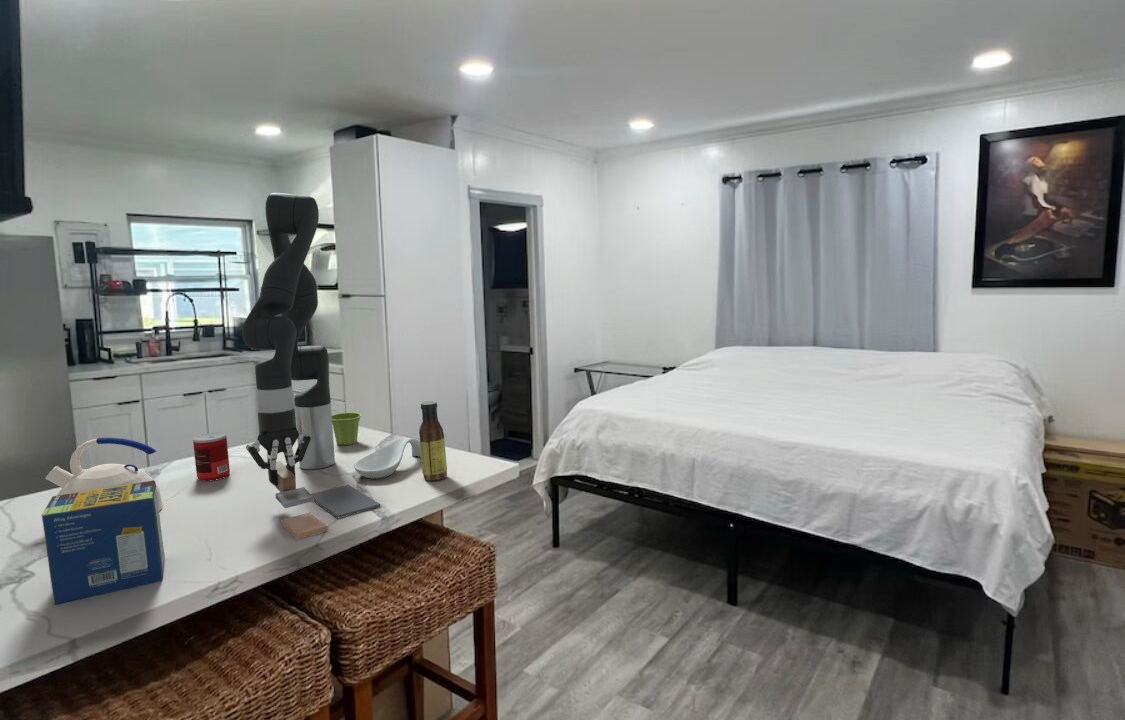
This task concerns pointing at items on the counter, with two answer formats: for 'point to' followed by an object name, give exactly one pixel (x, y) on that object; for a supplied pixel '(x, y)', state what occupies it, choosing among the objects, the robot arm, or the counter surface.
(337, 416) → the plant pot
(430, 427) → the sauce bottle
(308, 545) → the counter surface
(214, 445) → the canned food
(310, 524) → the tile
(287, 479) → the tall tan post
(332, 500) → the mat
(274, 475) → the robot arm
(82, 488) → the kettle
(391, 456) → the spoon rest
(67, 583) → the protein box
